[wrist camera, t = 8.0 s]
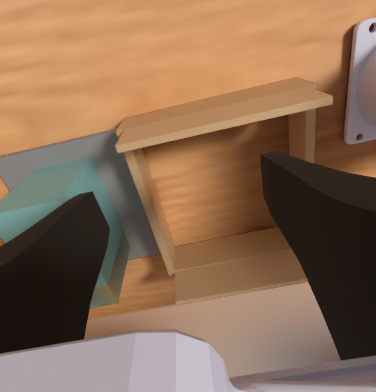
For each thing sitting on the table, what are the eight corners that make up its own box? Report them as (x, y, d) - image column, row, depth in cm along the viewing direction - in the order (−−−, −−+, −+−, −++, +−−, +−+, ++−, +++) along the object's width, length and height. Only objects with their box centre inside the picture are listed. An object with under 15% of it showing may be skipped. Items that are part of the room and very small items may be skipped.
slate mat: (121, 127, 19) (119, 130, 18) (164, 248, 25) (164, 253, 25) (-6, 157, 20) (-11, 160, 19) (66, 267, 26) (64, 272, 25)
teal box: (90, 157, 19) (60, 199, 14) (130, 246, 24) (118, 302, 19) (34, 170, 20) (-16, 216, 15) (84, 255, 24) (59, 313, 19)
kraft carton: (296, 77, 18) (345, 93, 13) (297, 227, 24) (329, 278, 19) (123, 118, 19) (103, 148, 14) (170, 252, 25) (168, 306, 20)
